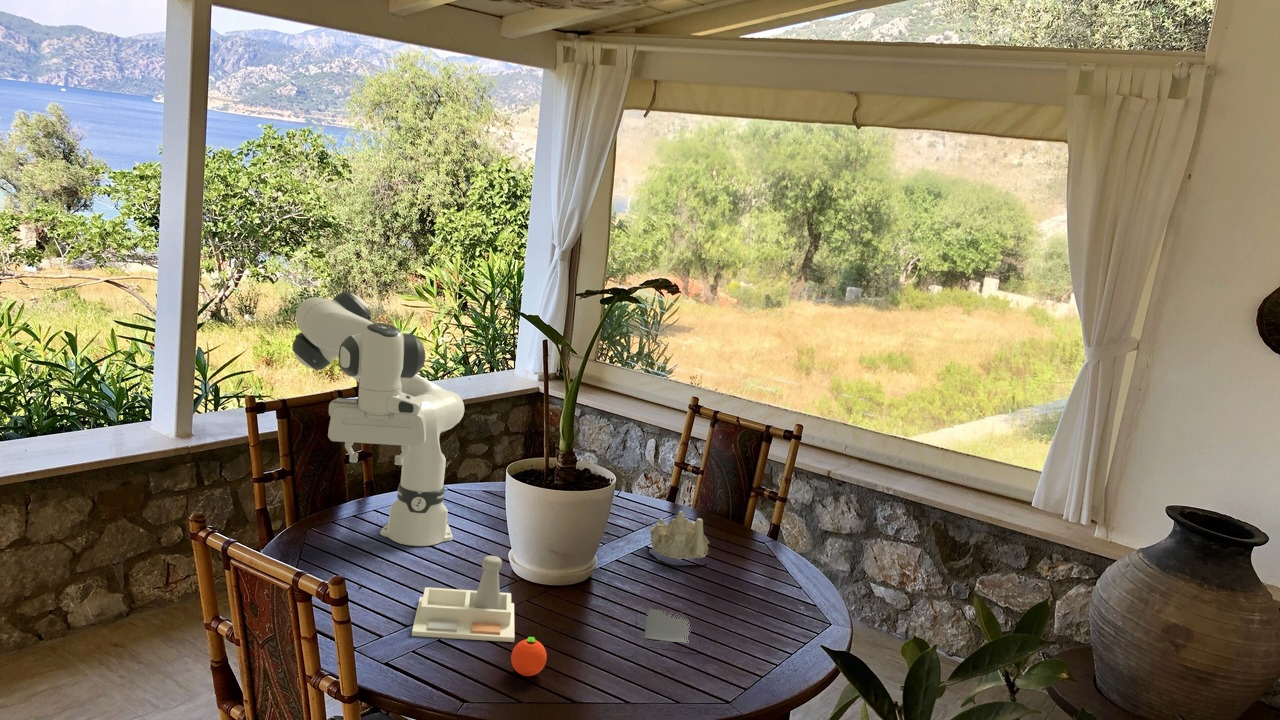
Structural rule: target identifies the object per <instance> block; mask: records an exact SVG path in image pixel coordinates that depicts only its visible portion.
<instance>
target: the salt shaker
mask: <svg viewBox="0 0 1280 720" xmlns="http://www.w3.org/2000/svg"><path fill="white" fill-rule="evenodd" d="M481 567H482V569H483V571H482V574H481V578H480V581H479V585H478V587H477V590H476V591H477V593H476V597H475V600H474V607H475V608H482V609H497V610H499V608H500V592H501V590H500V575H499V574H500V573H499V572H500V570H501V569H502V567H503V560H502V558H500V557H499V556H497V555H496V556H495V555H487V556H484V557H483V558H482V561H481Z"/></svg>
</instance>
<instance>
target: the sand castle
mask: <svg viewBox="0 0 1280 720" xmlns="http://www.w3.org/2000/svg"><path fill="white" fill-rule="evenodd" d="M688 520H689V518H688V517H686V516H685V514H684V511H682V510H679V511H678V513H677V515H676V518H671V519H670V521H669V523H664V522H665V520H664V519H663V518H659V519H658V523H656V524H655V525H653V526H652V527H651V528H650V530H649V533H650V541H651V542H652V546H653V547H652V549H653V550H655V552H658V553H659V554H660V555H664V556H668V557H669V558H670V557H671V558H677V559H689V558H690V559H691V558H692V559H693V558H698V559H699V558H703V557H705V556H706V555H707V553H708V552H709V546H708V544H710V543H711V542H710V541H709V539H708V538H707V536H706V535H705V533H704V520H703V518H698V517H697V518H696V520H695V522H694V521H693V520H689V521H688Z"/></svg>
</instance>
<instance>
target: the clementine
mask: <svg viewBox="0 0 1280 720" xmlns="http://www.w3.org/2000/svg"><path fill="white" fill-rule="evenodd" d="M547 656H548V653H547V651H546V648H545V647H544V645H543V644H542V643H541V642H540V641H538V640H537V639H536V638H535V637H534V636H528V637H527V638H526V639H523V640H521V641H519V642H518V643H517V644H516V645H515V646H514V648H513V649H512V652H511V656H510V659H511V660H510V661H511V665H512V667H513V669H514V670H515V672H517V673H518V674H519V675H521V676H524V677H532V676H535V675H537V674H539V673H540V672H541V671H542V670H543V669H544V668H545V666H546V663H547V660H548V659H547V658H548V657H547Z"/></svg>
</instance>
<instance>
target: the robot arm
mask: <svg viewBox="0 0 1280 720" xmlns="http://www.w3.org/2000/svg"><path fill="white" fill-rule="evenodd" d="M295 321H296V324H297V326H298V329H299V330H300V332H299V333H298V334H295V339H294V340H293V342H292V352H293V353H294V356H295V358H296V359H297V360H298V362H299V363H300V364H301V365H303V366H305V367H306V368H309V369H313V370H315V371H322V370H324V369H325V368H327V367H328V366H329V365H331V364H332V363H331V362H332V361H334V360H335V359H336V358H337V359H338V366H339V368H340V369H341V371H343V373H344V374H346V375H347V376H349V377H351V378H354V380H355V381H356V382H358V383H359V385H358V397H357V398H344V397H337V398H336V399H333V400H331V401H330V402H329V404H328V416H329V417H330V420H329V424H328V433H327V437H328V439H329V440H330V441H331V442H341V443H342V442H343V443H344V448H345V450H346V451H347V453H348V455H349V463H358V460H359V459H358V457H359V452H355V451H354V449H353V447H352V446H353V445H354V443H359V444H372V445H373V444H375V445H391V446H400V451H401V453H400V454H398V455H397V454H396V455H395V456H394V465H396V466H401V474H400V482H399V484H398V488H397V496H396V497H397V499H396V501H394V502H392V504H391V505H390V507H389V515H388V522H387V524H386V525H384V527H382V528H381V530H380V532H379V535H380V536H382V537H385V538H388V539H390V540H391V541H393V542H396V543H398V544H400V545H405V546H410V547H411V546H414V547H427V546H434V545H438V544H440V543H443V542H451V541H453V538H454V537H453V536H454V535H453V533H452V530H451V528H450V525H449V520H448V514H449V513H448V511H449V510H448V508H447V506H446V505H445V504H444V500H445V495H446V493H445V492H446V491H445V486H444V483H445V482H444V481H445V474H446V464H447V461H446V460H447V459H446V457H445V455H444V453H443V452H442V450H441V444H440V436H441V433H443V432H446V431H448V430H452V428H454V427H455V426H457V424H458V423H460V421H462V418H463V417H464V413H465V404H464V401H463V399H462V398H461V396H460V395H459V394H457V393H456V392H454V391H451V390H448V389H445V388H443V387H441V386H439V385H437V384H435V383H433V382H431V380H428V379H426V378H425V377H422V376H421V375H419V374H418V373H419V372H420V371H421V370H422V368H423V367H424V365H425V362H426V351H425V347H424V345H423V344H422V342H421V340H420V339H418V338H419V337H417V336H416V335H414V334H413V333H402V331H401V330H400V328H398V327H396V326H394V325H391V324H387V323H382V322H381V323H379V322H378V323H377V322H374V321H372V315H371V311H370V309H369V307H368V304H367V303H366V302H365V301H364V300H363V299H362V298H361V297H360V296H358V295H356V294H354V293H351V292H349V291H342V292H341V293H338V294H336V295H335V296H334V297H333V298H332V300H331V299H328V298H325V297H324V298H323V297H319V296H315V297H313V296H312V297H309V298H307V299H304V300H302V302H300V304H299V305H298V306H297V308H296V312H295Z"/></svg>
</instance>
